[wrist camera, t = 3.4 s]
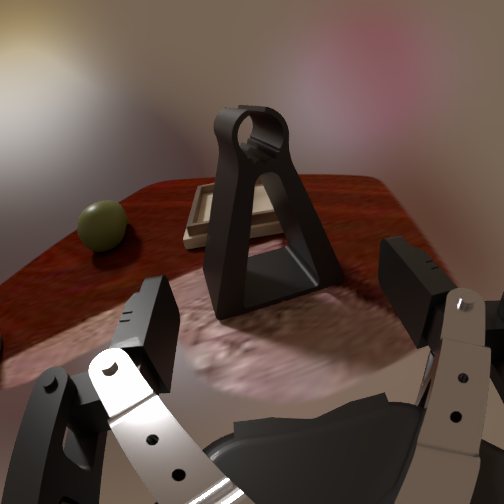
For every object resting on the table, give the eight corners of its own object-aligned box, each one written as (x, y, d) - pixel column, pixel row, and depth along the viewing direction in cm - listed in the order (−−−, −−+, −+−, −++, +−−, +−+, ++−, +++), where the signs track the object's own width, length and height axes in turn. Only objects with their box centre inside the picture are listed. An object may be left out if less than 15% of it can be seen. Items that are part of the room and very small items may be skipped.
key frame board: (185, 249, 28) (180, 230, 27) (197, 200, 40) (194, 185, 39) (293, 231, 28) (291, 210, 27) (274, 186, 40) (272, 172, 39)
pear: (64, 216, 27) (87, 201, 36) (81, 264, 29) (99, 239, 38) (113, 199, 28) (126, 188, 37) (129, 249, 30) (137, 227, 39)
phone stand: (309, 244, 26) (294, 96, 20) (344, 282, 21) (336, 98, 15) (203, 273, 25) (165, 120, 19) (216, 321, 20) (165, 127, 14)
